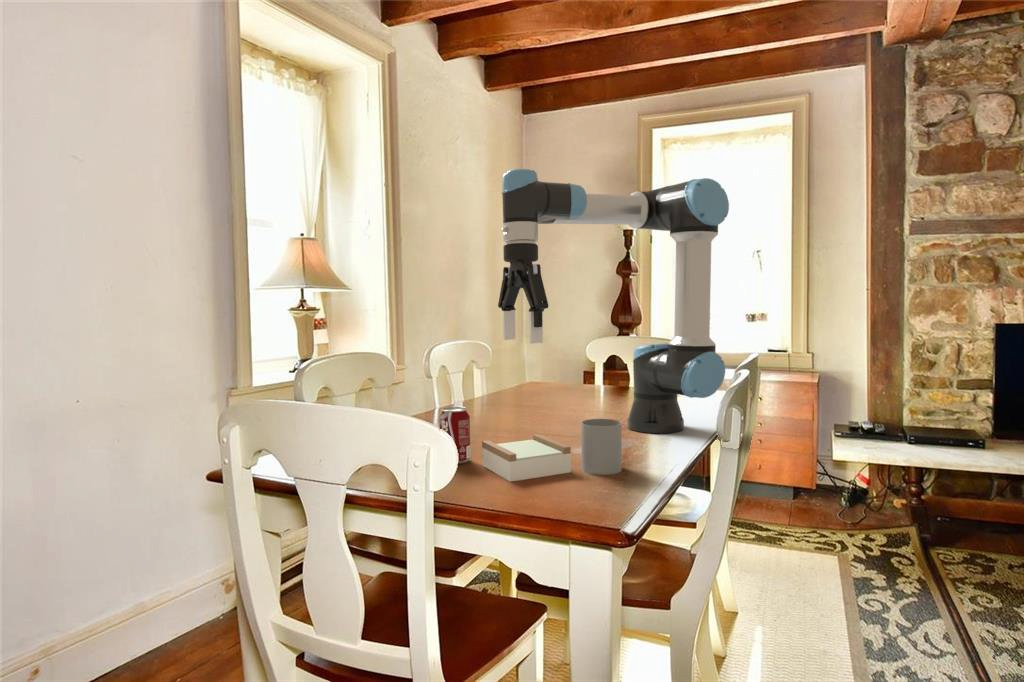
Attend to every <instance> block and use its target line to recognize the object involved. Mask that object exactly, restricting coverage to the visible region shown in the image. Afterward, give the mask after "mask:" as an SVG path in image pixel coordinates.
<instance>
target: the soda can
mask: <svg viewBox="0 0 1024 682" xmlns="http://www.w3.org/2000/svg"><path fill="white" fill-rule="evenodd" d="M467 410H468V408H467V407H464V406H446V407H442V408H441V414H440V415H439V416H438V417H439V418H438V423H439V430H440V429H442V430H444V431H445V432H447V433H448V434H449V435H450V436H451V437H452V438H453V440H454V442H455V444H456V446H457V449H458V453H459V464H458V465H462V464H466V463H467V462H469V461H470V460H471V459H472V458H471V455H472V454H471V422H470V421H471V419H470V418H471V417H470V414H469V413H468V411H467Z"/></svg>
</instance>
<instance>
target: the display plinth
mask: <svg viewBox="0 0 1024 682" xmlns="http://www.w3.org/2000/svg"><path fill="white" fill-rule="evenodd" d="M571 452H572V451H571V446H570V445H567V444H564V443H562V442H559V441H557V440H554V439H552V438H550V437H547V436H545V435H541V434H532V439H527V440H525V439H524V440H519V441H518V440H516V441H510V442H503V443H494V442H493V441H491V440H482V441H481V459H482V461H481V462H482V463H481V464H482V467H484V468H486V469H488V470H490V471H491V472H493V473H494V474H496V475H498V476H499V477H501V478H502V479H504V480H506V481H509V483H510V482H518V481H524V480H530V479H537V478H542V477H550V476H555V475H556V476H557V475H562V474H569V473H572V472H571V471H572V468H571V466H572V465H571V463H572V461H571V459H572V458H571Z"/></svg>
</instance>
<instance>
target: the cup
mask: <svg viewBox="0 0 1024 682" xmlns="http://www.w3.org/2000/svg"><path fill="white" fill-rule="evenodd" d="M580 427H581V470H582V471H583V472H584V473H587V474H589V475H590V474H591V475H598V476H599V475H600V476H607V475H608V476H609V475H615V474H618V473H620V472H622V470H623V469H622V468H623V467H622V466H623V465H622V461H623V460H622V458H623V457H622V455H623V454H622V451H623V450H622V449H623V448H622V446H623V445H622V443H623V442H622V441H623V440H622V422H621V421H620V420H617V419H611V418H592V419H591V418H590V419H586V420H582V421H581V426H580Z"/></svg>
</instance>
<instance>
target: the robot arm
mask: <svg viewBox="0 0 1024 682" xmlns="http://www.w3.org/2000/svg"><path fill="white" fill-rule="evenodd" d="M501 182H502V185H501V186H502V188H501V196H502V221H503V222H502V227H501V232H503V234H502V235H503V242H504V243H505V244H503V261H504V262H505V263H509V264H510V265H509V266H504V267H503V269H502V281H501V287H500V293H499V298H498V304H497V306H498V309H499V308H500V309H501V311H502V332H503V333H502V335H503V336H502V337H503V338H502V339H503V341H504V340H505V341H510V340H511V341H512V340H516V307H515V305H516V301H517V299H518V296H519V293H520V290H521V289H523V292H524V294H525V297H526V300H527V301H528V305H529V309H528V314H529V316H528V317H529V321H528V323H529V325H528V326H529V344H543V343H544V336H543V335H544V330H543V329H544V328H543V325H544V324H543V312H544V311H545V309H548V308H549V302H548V298H547V293H546V289H545V286H544V282H543V278H542V273H541V272H542V271H541V264H538V263H537V264H536V263H535V264H534V263H533V262H537V261H539V245H538V244H537V242H538V241H539V225H549V224H552V225H553V224H555V225H560V224H561V225H562V224H563V225H564V224H565V225H628V226H629V228H631V229H636V230H637V229H641V230H650V231H651V230H652V231H661V232H662V231H665V232H667V231H668V232H669V236H670V237H671V239H673V240H674V242H675V278H674V281H675V286H674V330H673V331H674V332H673V333H674V336H673V337H672V338H671V340H669V342H668V343H657V344H656V343H655V344H644V345H638V346H636V347H635V348H634V349H633V358H632V364H633V365H632V366H633V368H632V369H633V401H632V404H631V407H630V410H629V415H628V417H627V428H628V429H629V430H632V431H635V432H638V433H639V432H640V433H650V434H669V433H671V434H672V433H677V432H682V431H683V430H684V429H685V420H684V418H683V414H682V410H681V407H680V405H679V402H678V395H680V396H685V397H688V398H691V399H692V398H693V399H694V398H700V399H705V398H709V397H711V396H713V395H714V394H716V392H717V390H719V389H720V388H721V387H722V384H723V382H724V380H725V376H726V365H725V361H724V360H723V359H722V356H721V355H720V354H719V353H716V343H715V342H714V341H713V339H712V338H711V337H710V333H711V332H710V329H711V327H710V325H711V323H710V321H711V285H712V283H711V281H712V280H711V278H712V274H711V273H712V242H713V241H714V239H716V237H717V236H719V225H720V224H722V223H723V222H724V221H725V219H726V218H727V217H728V214H729V210H730V202H729V198H728V194H727V193H726V190H725V189H724V188H723V187H722V185H721V184H720V183H719V182H718V181H717V180H714V179H712V178H709V177H708V178H707V177H705V178H693V179H691V180H687V181H683V182H681V183H676V184H671V185H666V186H663V187H660V188H657V189H651V190H646V191H643V190H642V191H641V190H639V191H634V192H632V193H630V194H611V193H610V194H605V193H601V194H600V193H587V191H586V190H585V188H584V187H582V186H581V185H580V184H573V183H570V182H569V183H564V182H563V183H561V182H545V181H540V180H539V178H538V174H537V172H536V171H535V170H533V169H528V168H516V169H514V168H513V169H511V170H508V171H506V172H504V174H503V175H502V181H501Z"/></svg>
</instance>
